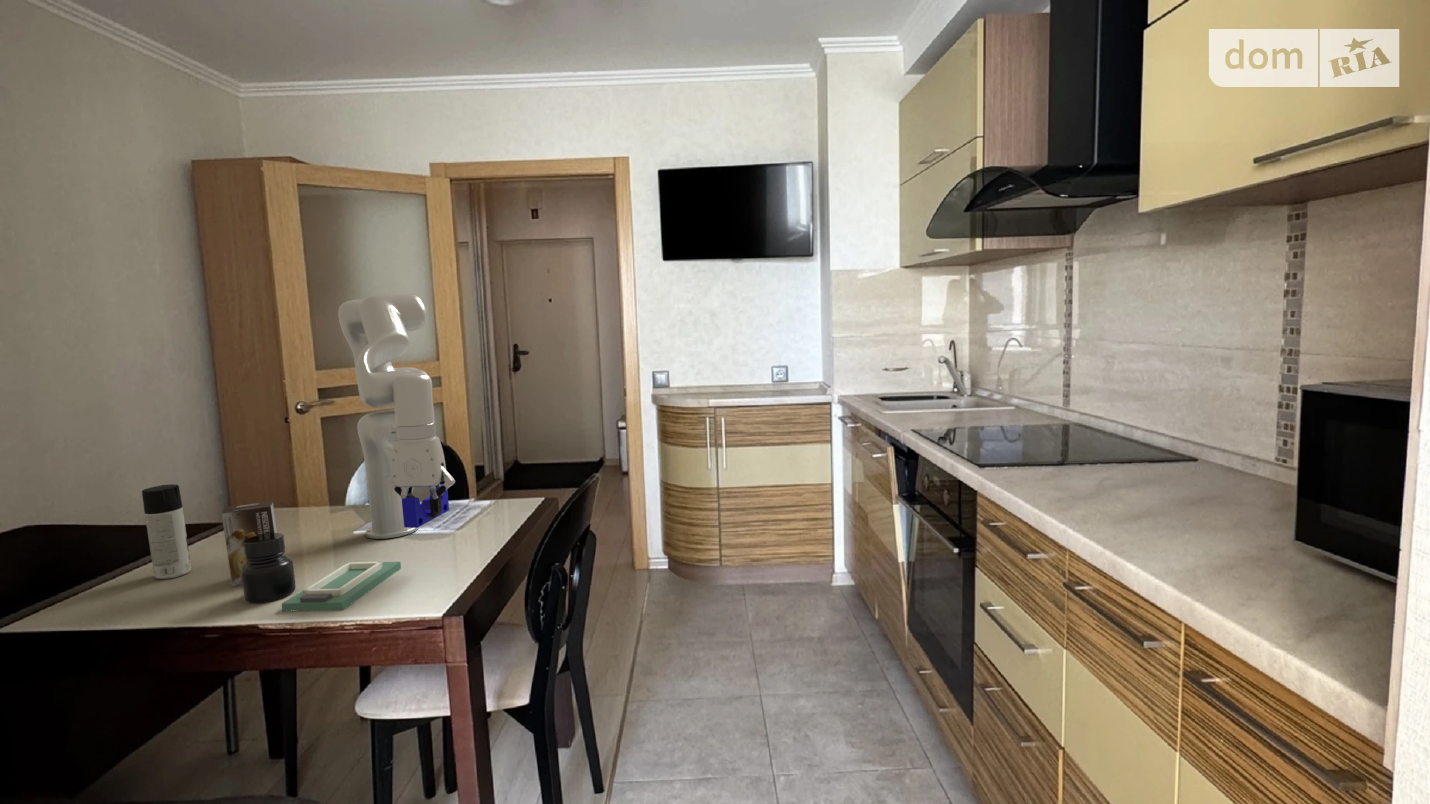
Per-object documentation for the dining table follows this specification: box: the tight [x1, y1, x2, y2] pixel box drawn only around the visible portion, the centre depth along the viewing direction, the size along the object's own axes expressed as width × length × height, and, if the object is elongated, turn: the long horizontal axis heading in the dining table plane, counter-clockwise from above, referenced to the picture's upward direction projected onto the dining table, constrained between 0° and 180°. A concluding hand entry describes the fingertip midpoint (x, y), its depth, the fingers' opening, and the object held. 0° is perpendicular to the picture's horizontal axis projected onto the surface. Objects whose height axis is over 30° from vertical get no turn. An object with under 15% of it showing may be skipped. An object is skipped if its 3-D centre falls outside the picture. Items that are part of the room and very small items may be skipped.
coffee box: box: [221, 500, 278, 587], centre depth 151 cm, size 9×6×16 cm
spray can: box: [141, 483, 192, 580], centre depth 155 cm, size 7×7×20 cm
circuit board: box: [281, 561, 402, 612], centre depth 144 cm, size 22×12×3 cm, turn 177°
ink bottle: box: [241, 532, 296, 604], centre depth 141 cm, size 10×9×12 cm
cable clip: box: [402, 483, 450, 529], centre depth 150 cm, size 12×4×6 cm, turn 170°
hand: (423, 514), depth 150 cm, fingers closed on cable clip, 4 cm apart
